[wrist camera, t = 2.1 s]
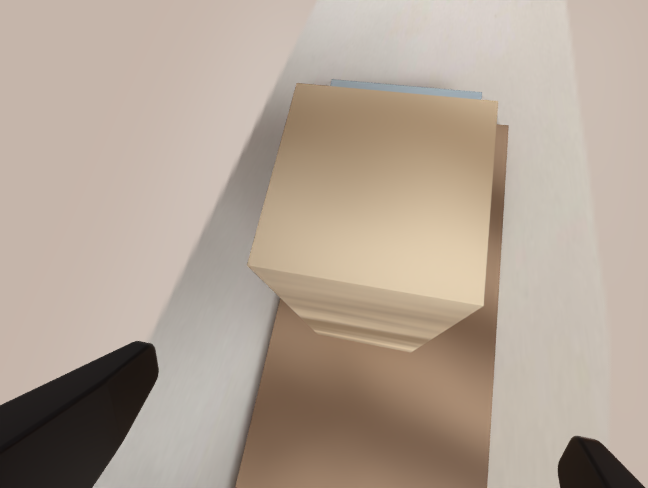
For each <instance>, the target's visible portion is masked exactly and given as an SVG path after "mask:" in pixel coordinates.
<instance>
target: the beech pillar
mask: <svg viewBox="0 0 648 488" xmlns="http://www.w3.org/2000/svg"><path fill="white" fill-rule="evenodd" d="M497 110H498V101H490V100H479V99H468V98H457V97H446V96H435V95H424V94H412V93H401V92H390V91H379V90H368V89H357V88H346V87H335V86H324V85H313V84H302V83H297V84H296V87H295V91H294V95H293V98H292V102H291V106H290V109H289V113H288V117H287V120H286V124H285V128H284V131H283V135H282V139H281V142H280V146H279V150H278V153H277V157H276V161H275V164H274V168H273V172H272V175H271V179H270V183H269V186H268V190H267V193H266V197H265V201H264V204H263V208H262V212H261V215H260V219H259V223H258V226H257V230H256V234H255V237H254V241H253V245H252V248H251V252H250V256H249V259H248V263H247V266H248V267H249V268H250V269H251V270H252V271H253V272H254V273H255V274H256V275H257V276H258V277H259V278H260V279H261V280H262V281H263V282H265V283H266V284H267V285H268V286H269V287H270V288H271V289H272V290H273V291H274V292H275V293H276V294H277V295H278V296H279V297H280V298H281V299H282V300H283V301H284V302H285V303H286V304H287V305H288V306H289V307H290V308H291V309H292V310H293V311H294V312H295V313H296V314H297V315H298V316H299V317H300V318H301V319H302V320H303V321H304V322H305V323H307V324H308V325H309V326H310V327H311V328H312V329H313V330H314V331H315V332H316V333H317V334H318V335H323V336H329V337H334V338H339V339H344V340H349V341H354V342H359V343H364V344H369V345H374V346H379V347H385V348H390V349H395V350H400V351H405V352H410V353H411V352H412V351H414V350H416V349H417V348H419V347H420V346H422V345H423V344H425V343H427V342H428V341H430V340H431V339H433V338H434V337H436V336H438V335H439V334H441V333H442V332H444V331H445V330H447V329H448V328H450V327H452V326H453V325H455V324H456V323H458V322H459V321H461V320H463V319H464V318H466V317H467V316H469V315H470V314H472V313H473V312H475V311H477V310H478V309H480V308H481V307H483V306H484V293H485V279H486V265H487V251H488V237H489V223H490V209H491V195H492V181H493V166H494V152H495V138H496V124H497Z"/></svg>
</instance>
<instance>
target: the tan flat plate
mask: <svg viewBox="0 0 648 488" xmlns="http://www.w3.org/2000/svg"><path fill="white" fill-rule="evenodd" d="M508 127H509V126H508V125H498V124H496V138H495V152H494V166H493V181H492V195H491V209H490V223H489V237H488V251H487V265H486V279H485V293H484V306H483V307H481V308H480V309H478V310H477V311H475V312H473V313H472V314H470V315H469V316H467V317H466V318H464V319H463V320H461V321H459V322H458V323H456V324H455V325H453V326H452V327H450V328H448V329H447V330H445V331H444V332H442V333H441V334H439V335H438V336H436V337H434V338H433V339H431V340H430V341H428V342H427V343H425V344H423V345H422V346H420V347H419V348H417V349H416V350H414V351H412V352H411V353H410V352H405V351H400V350H395V349H390V348H385V347H379V346H374V345H369V344H364V343H359V342H354V341H349V340H344V339H339V338H334V337H329V336H323V335H318V334H317V333H316V332H315V331H314V330H313V329H312V328H311V327H310V326H309V325H308V324H307V323H305V322H304V321H303V320H302V319H301V318H300V317H299V316H298V315H297V314H296V313H295V312H294V311H293V310H292V309H291V308H290V307H289V306H288V305H287V304H286V303H285V302H284V301H283V300H282V299H281V298H280V302H279V306H278V310H277V314H276V318H275V323H274V327H273V331H272V335H271V339H270V343H269V348H268V352H267V356H266V360H265V364H264V369H263V373H262V377H261V381H260V385H259V390H258V394H257V398H256V402H255V406H254V411H253V415H252V419H251V423H250V427H249V431H248V436H247V440H246V444H245V448H244V452H243V457H242V461H241V465H240V469H239V473H238V478H237V482H236V486H235V488H487V479H488V463H489V446H490V429H491V412H492V395H493V379H494V362H495V345H496V328H497V311H498V295H499V278H500V261H501V244H502V228H503V211H504V194H505V177H506V160H507V144H508Z"/></svg>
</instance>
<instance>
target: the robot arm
mask: <svg viewBox="0 0 648 488" xmlns="http://www.w3.org/2000/svg"><path fill="white" fill-rule="evenodd" d="M158 373H159V368H158V362H157V356H156V350H155V347H154V346H153V344H150V343H146V342H141V341H135V342H132V343H130V344H128V345H126V346H124V347H122V348H120V349H117V350H115V351H113V352H111V353H109V354H107V355H105V356H103V357H101V358H99V359H97V360H94V361H92V362H90V363H88V364H86V365H84V366H82V367H80V368H78V369H76V370H73V371H71V372H69V373H67V374H65V375H63V376H61V377H59V378H57V379H55V380H52V381H50V382H48V383H46V384H44V385H42V386H40V387H38V388H36V389H33V390H32V391H30V392H27V393H25V394H23V395H21V396H19V397H17V398H15V399H13V400H10V401H9V402H6V403H4V404H2V405H0V488H92V487H93V486H94V484H95V483H96V481H97V480H98V478H99V477H100V475H101V474H102V472H103V471H104V469H105V468H106V466H107V465H108V463H109V462H110V460H111V459H112V457H113V456H114V455H115V453H116V451H117V450H118V448H119V447H120V445H121V444H122V442H123V440H124V439H125V437H126V435H127V434H128V432H129V430H130V428H131V426H132V424H133V423H134V421H135V419H136V417H137V415H138V413H139V412H140V410H141V408H142V406H143V404H144V402H145V401H146V399H147V397H148V395H149V393H150V391H151V390H152V388H153V386H154V384H155V382H156V380H157V377H158ZM558 477H559V483H560V488H645V487H644V486H643V485H642V484H641V483H640V482H639V481H638V480H637V479H636V478H635V477H634V476H633V475H632V474H631V473H630V472H629V471H628V470H627V469H626V468H625V466H624V465H623V464H621V462H620V461H619V460H618V459H617V458H615V456H614V455H613V454H612V453H611V452H610V451H609V450H608V449H607V448H606V447H605V446H604V445H603V444H602V443H600V442H599V441H597V440H595V439H591V438H586V437H581V436H574V437H572V438H571V440H570V442H569V443H568V445H567V447H566V449H565V451H564V453H563V455H562V457H561V458H560V461H559V464H558Z"/></svg>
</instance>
